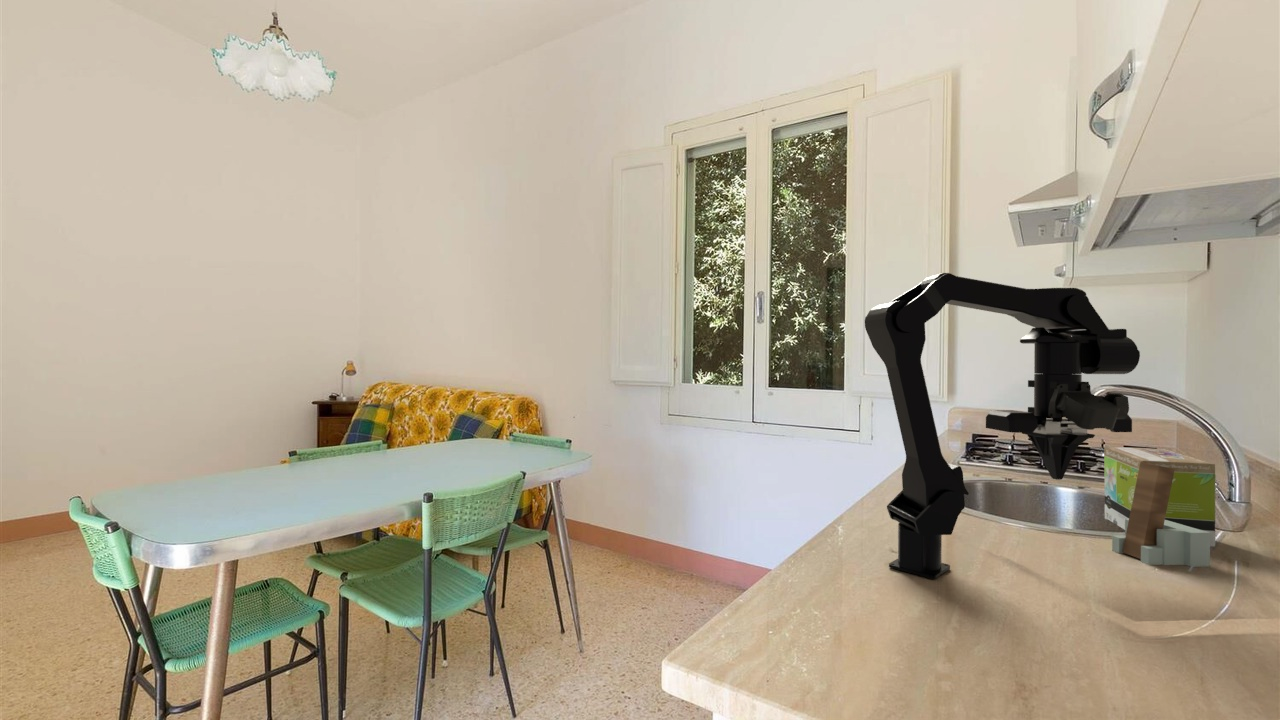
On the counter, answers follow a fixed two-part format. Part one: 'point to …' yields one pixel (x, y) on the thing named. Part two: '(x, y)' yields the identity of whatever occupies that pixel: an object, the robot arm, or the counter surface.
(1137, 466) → the tea box
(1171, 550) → the bracket
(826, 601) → the counter surface
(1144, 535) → the brown wooden post
